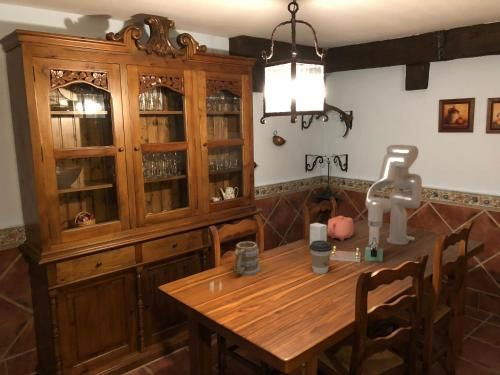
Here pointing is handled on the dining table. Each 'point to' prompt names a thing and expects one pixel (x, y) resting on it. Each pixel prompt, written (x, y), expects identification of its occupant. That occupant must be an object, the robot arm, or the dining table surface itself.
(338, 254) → the chassis plate
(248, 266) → the tankard
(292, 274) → the dining table surface
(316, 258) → the coffee cup
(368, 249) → the block
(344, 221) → the teapot
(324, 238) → the small box
